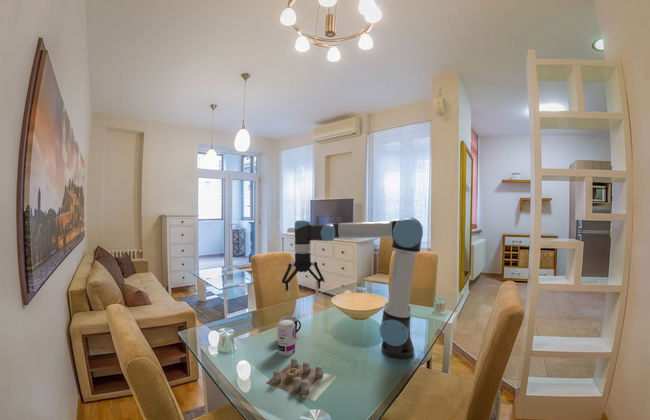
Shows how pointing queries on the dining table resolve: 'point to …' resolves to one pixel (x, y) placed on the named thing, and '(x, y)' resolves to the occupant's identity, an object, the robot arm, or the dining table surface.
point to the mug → (294, 322)
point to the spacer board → (290, 383)
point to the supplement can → (286, 337)
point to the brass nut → (292, 374)
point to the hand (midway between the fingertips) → (303, 296)
